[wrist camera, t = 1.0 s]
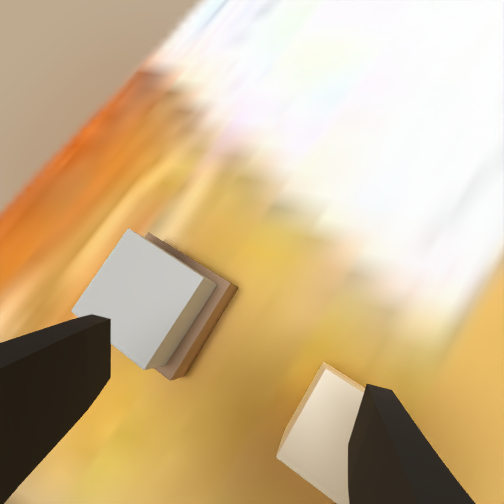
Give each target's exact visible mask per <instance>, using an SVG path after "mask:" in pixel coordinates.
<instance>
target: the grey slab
mask: <svg viewBox="0 0 504 504" xmlns="http://www.w3.org/2000/svg"><path fill="white" fill-rule="evenodd" d="M216 286H217V284H216V283H214V282H212V281H211V280H209V279H208V278H206V277H205V276H203V275H202V274H200V273H199V272H197V271H196V270H194V269H193V268H191V267H190V266H188V265H186V264H185V263H183V262H182V261H180V260H179V259H177V258H176V257H174V256H173V255H171V254H170V253H168V252H167V251H165V250H164V249H162V248H160V247H159V246H157V245H156V244H154V243H153V242H151V241H150V240H148V239H146V238H145V237H143V236H141V235H139V234H137V233H136V232H134V231H132V230H130V229H129V228H128V229H127V231H126V232H125V234H124V235H123V237H122V238H121V239H120V241H119V242H118V244H117V245H116V247H115V248H114V250H113V251H112V252H111V254H110V255H109V257H108V258H107V260H106V261H105V263H104V264H103V265H102V267H101V268H100V270H99V271H98V273H97V274H96V276H95V277H94V278H93V280H92V281H91V283H90V284H89V286H88V287H87V289H86V290H85V292H84V293H83V294H82V296H81V297H80V299H79V300H78V302H77V303H76V305H75V306H74V307H73V309H72V310H71V311H72V312H73V313H74V314H75V315H77V316H78V317H82V316H86V315H91V314H93V315H97V316H101V317H105V318H109V319H111V344H112V345H114V346H115V347H116V348H117V349H118V350H120V351H121V352H122V353H123V354H125V355H126V356H127V357H128V358H130V359H131V360H132V361H133V362H134V363H136V364H137V365H138V366H139V367H141V368H142V369H143V370H146V369H151V368H156V367H161V366H165V365H166V364H167V362H168V361H169V359H170V358H171V356H172V355H173V353H174V351H175V350H176V348H177V347H178V345H179V344H180V342H181V341H182V339H183V338H184V336H185V334H186V333H187V331H188V330H189V328H190V327H191V325H192V324H193V322H194V320H195V319H196V317H197V316H198V314H199V313H200V311H201V310H202V308H203V306H204V305H205V303H206V302H207V300H208V299H209V297H210V296H211V294H212V292H213V291H214V289H215V288H216Z"/></svg>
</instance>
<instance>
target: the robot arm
mask: <svg viewBox="0 0 504 504" xmlns="http://www.w3.org/2000/svg"><path fill="white" fill-rule="evenodd" d="M110 377H111V319H109V318H105V317H101V316H97V315H93V314H91V315H86V316H82V317H79V318H76V319H72V320H69V321H66V322H63V323H60V324H57V325H53V326H50V327H47V328H44V329H41V330H38V331H35V332H32V333H29V334H26V335H23V336H20V337H17V338H14V339H11V340H8V341H5V342H2V343H0V504H4V503H5V502H6V500H7V499H8V498H9V497H10V496H11V495H12V493H13V492H14V491H15V490H16V489H17V488H18V486H19V485H20V484H21V483H22V482H23V481H24V480H25V479H26V477H27V476H28V475H29V474H30V473H31V472H32V471H33V470H34V469H35V468H36V466H37V465H38V464H39V463H40V462H41V461H42V460H43V459H44V458H45V457H46V455H47V454H48V453H49V452H50V451H51V450H52V449H53V448H54V447H55V446H56V445H57V443H58V442H59V441H60V440H61V439H62V438H63V437H64V436H65V435H66V434H67V432H68V431H69V430H70V429H71V428H72V427H73V426H74V425H75V423H76V422H77V421H78V420H79V419H80V418H81V417H82V416H83V414H84V413H85V412H86V411H87V410H88V409H89V407H90V406H91V405H92V403H93V402H94V400H95V399H96V398H97V396H98V395H99V394H100V392H101V391H102V389H103V388H104V386H105V385H106V383H107V382H108V380H109V379H110ZM348 494H349V504H475V503H474V501H473V500H472V499H471V498H470V496H469V495H468V494H467V493H466V491H465V490H464V489H463V488H462V486H461V485H460V484H459V482H458V481H457V480H456V479H455V477H454V476H453V475H452V473H451V472H450V471H449V469H448V468H447V467H446V465H445V464H444V463H443V461H442V460H441V459H440V457H439V456H438V455H437V453H436V452H435V451H434V449H433V448H432V446H431V445H430V444H429V442H428V441H427V439H426V438H425V437H424V435H423V434H422V432H421V431H420V430H419V428H418V427H417V425H416V424H415V423H414V421H413V420H412V418H411V417H410V415H409V414H408V412H407V411H406V410H405V408H404V407H403V405H402V404H401V402H400V401H399V400H398V398H397V397H396V395H395V394H394V393H393V391H392V390H389V389H385V388H381V387H378V386H374V385H370V384H367V385H366V388H365V391H364V394H363V398H362V401H361V404H360V407H359V411H358V414H357V417H356V420H355V424H354V427H353V430H352V433H351V437H350V440H349V443H348Z"/></svg>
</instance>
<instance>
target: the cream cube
mask: <svg viewBox="0 0 504 504" xmlns="http://www.w3.org/2000/svg"><path fill="white" fill-rule="evenodd" d="M364 391H365V387H363V386H361V385H360V384H358V383H357V382H355V381H354V380H352V379H350V378H349V377H347V376H346V375H344V374H343V373H341V372H339V371H338V370H336V369H335V368H333V367H332V366H330V365H328V364H327V363H325V362H324V361H323V363H322V364H321V366H320V368H319V370H318V372H317V373H316V375H315V377H314V379H313V380H312V382H311V384H310V386H309V387H308V389H307V391H306V393H305V395H304V396H303V398H302V400H301V402H300V403H299V405H298V407H297V409H296V410H295V412H294V414H293V416H292V418H291V419H290V421H289V423H288V425H287V426H286V428H285V430H284V433H283V436H282V439H281V442H280V446H279V449H278V452H277V455H276V458H277V459H279V460H280V461H281V462H283V463H284V464H285V465H287V466H288V467H289V468H291V469H292V470H293V471H294V472H296V473H297V474H298V475H300V476H301V477H302V478H304V479H305V480H306V481H308V482H309V483H310V484H312V485H313V486H314V487H316V488H317V489H318V490H319V491H321V492H322V493H323V494H325V495H326V496H327V497H329V498H330V499H331V500H333V501H334V502H335V503H337V504H349V494H348V443H349V440H350V437H351V433H352V430H353V427H354V424H355V420H356V417H357V414H358V411H359V407H360V404H361V401H362V398H363V394H364ZM419 430H420V429H419Z"/></svg>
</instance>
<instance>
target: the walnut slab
mask: <svg viewBox="0 0 504 504" xmlns="http://www.w3.org/2000/svg"><path fill="white" fill-rule="evenodd" d="M145 238H146V239H148V240H150V241H151V242H153V243H154V244H156V245H157V246H159V247H160V248H162V249H164V250H165V251H167V252H168V253H170V254H171V255H173V256H174V257H176V258H177V259H179V260H180V261H182V262H183V263H185V264H186V265H188V266H190V267H191V268H193V269H194V270H196V271H197V272H199V273H200V274H202V275H203V276H205V277H206V278H208V279H209V280H211V281H212V282H214V283H216V284H217V286H216V288H215V289H214V291H213V292H212V294H211V296H210V297H209V299H208V300H207V302H206V303H205V305H204V306H203V308H202V310H201V311H200V313H199V314H198V316H197V317H196V319H195V320H194V322H193V324H192V325H191V327H190V328H189V330H188V331H187V333H186V334H185V336H184V338H183V339H182V341H181V342H180V344H179V345H178V347H177V348H176V350H175V351H174V353H173V355H172V356H171V358H170V359H169V361H168V362H167V364H166V365H165V366H161V367H156V368H154V369H156V370H157V371H158V372H160V373H161V374H162V375H163V376H165V377H166V378H167V379H169V380H174V379H177V378H180V377H183V376H184V375H185V374H186V372H187V370H188V369H189V367H190V365H191V364H192V362H193V360H194V359H195V357H196V356H197V354H198V352H199V351H200V349H201V347H202V346H203V344H204V343H205V341H206V339H207V338H208V336H209V334H210V333H211V331H212V330H213V328H214V326H215V325H216V323H217V321H218V320H219V318H220V316H221V315H222V313H223V312H224V310H225V308H226V307H227V305H228V303H229V302H230V300H231V299H232V297H233V295H234V294H235V292H236V290H237V289H238V287H236V286H235V285H233V284H231V283H230V282H228V281H226V280H225V279H223V278H222V277H220V276H218V275H217V274H215V273H214V272H212V271H210V270H209V269H207V268H205V267H204V266H202V265H201V264H199V263H197V262H196V261H194V260H192V259H191V258H189V257H188V256H186V255H184V254H183V253H181V252H180V251H178V250H176V249H175V248H173V247H171V246H170V245H168V244H167V243H165V242H163V241H162V240H160V239H158V238H157V237H155V236H154V235H152V234H150V233H149V232H148V234H147V235H146V237H145Z"/></svg>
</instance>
